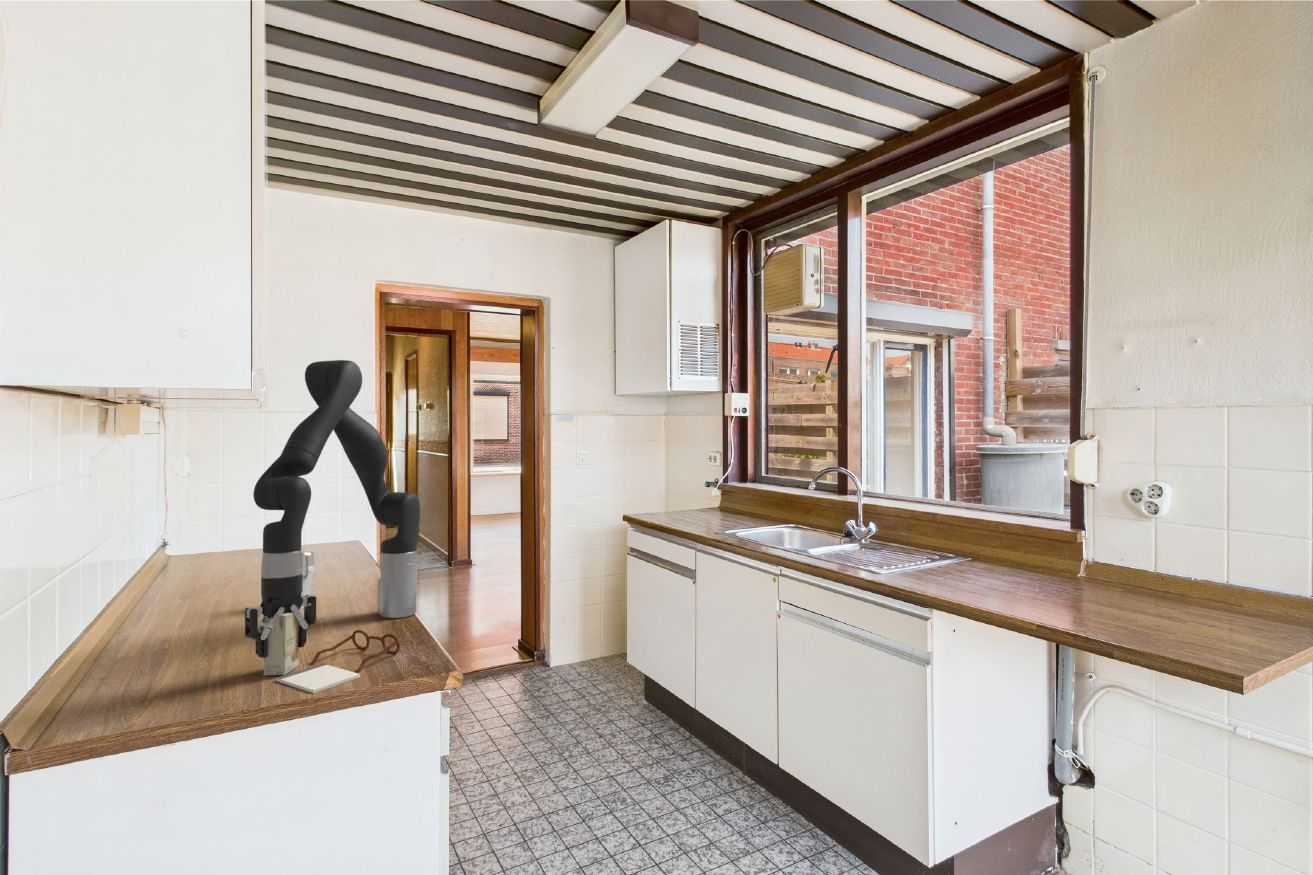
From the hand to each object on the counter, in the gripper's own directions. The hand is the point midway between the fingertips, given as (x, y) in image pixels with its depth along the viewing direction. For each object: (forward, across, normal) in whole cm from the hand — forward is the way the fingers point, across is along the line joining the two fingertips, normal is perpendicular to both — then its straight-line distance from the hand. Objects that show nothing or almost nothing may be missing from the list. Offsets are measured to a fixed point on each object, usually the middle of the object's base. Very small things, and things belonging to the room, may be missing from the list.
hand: (281, 651), depth 140 cm
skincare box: (+4, 0, 0) cm, 4 cm away
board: (+4, -1, +11) cm, 12 cm away
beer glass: (+4, -33, -46) cm, 57 cm away
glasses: (+5, -12, +7) cm, 15 cm away
